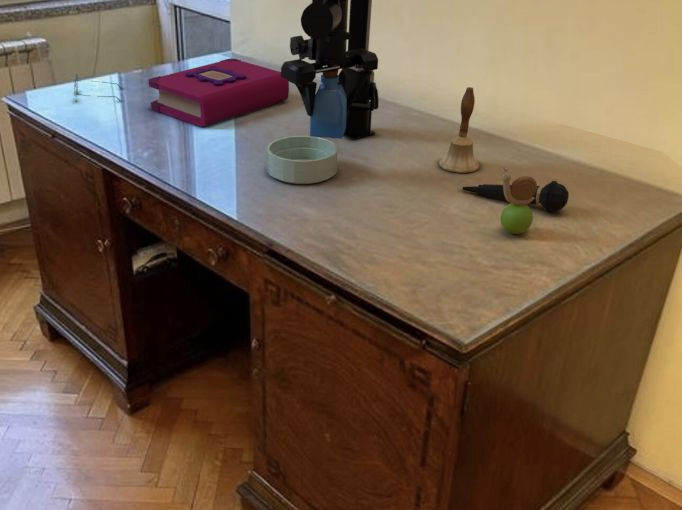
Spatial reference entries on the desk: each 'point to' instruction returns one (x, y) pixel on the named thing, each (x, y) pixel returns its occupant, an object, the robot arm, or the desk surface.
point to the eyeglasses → (93, 81)
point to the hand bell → (462, 141)
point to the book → (218, 91)
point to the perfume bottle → (329, 108)
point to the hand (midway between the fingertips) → (329, 111)
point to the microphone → (548, 196)
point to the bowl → (302, 159)
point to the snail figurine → (518, 203)
